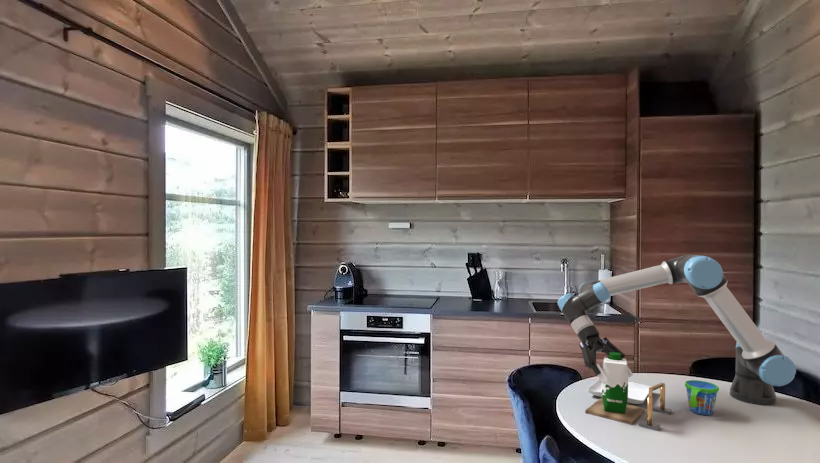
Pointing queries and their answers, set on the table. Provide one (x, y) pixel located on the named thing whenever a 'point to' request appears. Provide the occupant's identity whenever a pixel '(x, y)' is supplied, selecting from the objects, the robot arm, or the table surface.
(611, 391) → the soya milk
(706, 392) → the snack cup
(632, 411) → the walnut board
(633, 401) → the salad plate
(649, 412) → the copper wire
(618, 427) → the table surface
